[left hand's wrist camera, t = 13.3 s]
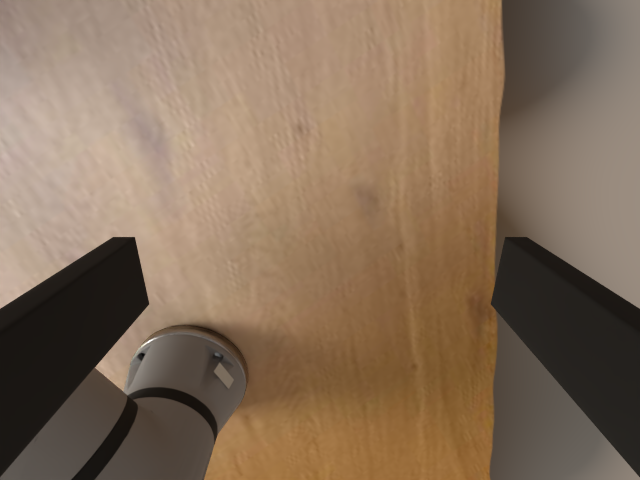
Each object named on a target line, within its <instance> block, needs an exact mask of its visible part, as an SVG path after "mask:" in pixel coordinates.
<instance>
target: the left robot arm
mask: <svg viewBox="0 0 640 480" xmlns="http://www.w3.org/2000/svg"><path fill="white" fill-rule="evenodd" d="M148 305H149V301H148V296H147V292H146V287H145V282H144V278H143V273H142V268H141V264H140V259H139V254H138V250H137V245H136V241H135V237H113V238H111V239H110V240H108V241H106V242H105V243H103V244H102V245H100V246H99V247H97V248H95V249H94V250H92V251H91V252H89V253H87V254H86V255H84V256H83V257H81V258H80V259H78V260H76V261H75V262H73V263H72V264H70V265H69V266H67V267H65V268H64V269H62V270H61V271H59V272H58V273H56V274H54V275H53V276H51V277H50V278H48V279H47V280H45V281H43V282H42V283H40V284H39V285H37V286H36V287H34V288H32V289H31V290H29V291H28V292H26V293H25V294H23V295H21V296H20V297H18V298H17V299H15V300H14V301H12V302H10V303H9V304H7V305H6V306H4V307H3V308H1V309H0V480H204V477H205V474H206V471H207V467H208V464H209V461H210V457H211V454H212V451H213V447H214V444H215V441H216V438H217V435H218V433H219V432H220V430H221V429H222V428H223V426H224V425H225V424H226V422H227V421H228V419H229V418H230V417H231V415H232V414H233V412H234V411H235V410H236V408H237V407H238V406H239V404H240V403H241V401H242V399H243V397H244V394H245V390H246V386H247V382H248V369H247V365H246V362H245V360H244V358H243V356H242V354H241V353H240V351H239V350H238V349H237V348H236V347H235V346H234V345H233V344H232V343H231V342H230V341H229V340H227V339H226V338H224V337H223V336H221V335H219V334H217V333H215V332H213V331H210V330H208V329H204V328H201V327H195V326H174V327H169V328H165V329H162V330H160V331H158V332H156V333H154V334H152V335H151V336H150V337H148V338H147V339H146V340H145V341H144V343H143V344H142V345H141V346H140V348H139V349H138V350H137V352H136V353H135V355H134V356H133V358H132V361H131V364H130V368H129V371H128V375H127V379H126V383H125V387H124V391H122V390H121V389H119V388H118V387H117V386H116V385H114V384H113V383H112V382H111V381H110V380H109V379H107V378H106V377H105V376H104V375H103V374H102V373H100V372H99V371H98V370H97V369H96V368H95V367H96V365H97V364H98V363H99V362H100V361H101V360H102V358H103V357H104V356H105V355H106V354H107V353H108V351H109V350H110V349H111V348H112V347H113V346H114V344H115V343H116V342H117V341H118V340H119V339H120V337H121V336H122V335H123V334H124V333H125V332H126V331H127V329H128V328H129V327H130V326H131V325H132V324H133V322H134V321H135V320H136V319H137V318H138V317H139V315H140V314H141V313H142V312H143V311H144V310H145V308H146V307H147V306H148ZM491 305H492V306H493V307H494V308H495V310H496V311H497V312H498V313H499V314H500V315H501V317H502V318H503V319H504V320H505V321H506V322H507V324H508V325H509V326H510V327H511V328H512V329H513V331H514V332H515V333H516V334H517V335H518V336H519V337H520V339H521V340H522V341H523V342H524V343H525V344H526V346H527V347H528V348H529V349H530V350H531V351H532V353H533V354H534V355H535V356H536V357H537V358H538V360H539V361H540V362H541V363H542V364H543V365H544V367H545V368H546V369H547V370H548V371H549V372H550V373H551V375H552V376H553V377H554V378H555V379H556V380H557V382H558V383H559V384H560V385H561V386H562V387H563V389H564V390H565V391H566V392H567V393H568V394H569V396H570V397H571V398H572V399H573V400H574V401H575V403H576V404H577V405H578V406H579V407H580V408H581V409H582V411H583V412H584V413H585V414H586V415H587V416H588V418H589V419H590V420H591V421H592V422H593V423H594V425H595V426H596V427H597V428H598V429H599V430H600V432H601V433H602V434H603V435H604V436H605V437H606V438H607V440H608V441H609V442H610V443H611V444H612V445H613V447H614V448H615V449H616V450H617V451H618V452H619V454H620V455H621V456H622V457H623V458H624V459H625V461H626V462H627V463H628V464H629V465H630V466H631V468H632V469H633V470H634V471H635V472H636V473H637V475H638V476H639V477H640V309H639V308H637V307H636V306H634V305H633V304H631V303H630V302H628V301H626V300H625V299H623V298H622V297H620V296H619V295H617V294H615V293H614V292H612V291H611V290H609V289H608V288H606V287H604V286H603V285H601V284H600V283H598V282H597V281H595V280H593V279H592V278H590V277H589V276H587V275H585V274H584V273H582V272H581V271H579V270H578V269H576V268H574V267H573V266H571V265H570V264H568V263H567V262H565V261H563V260H562V259H560V258H559V257H557V256H556V255H554V254H552V253H551V252H549V251H548V250H546V249H545V248H543V247H541V246H540V245H538V244H537V243H535V242H534V241H532V240H530V239H529V238H527V237H505V241H504V245H503V250H502V255H501V259H500V264H499V269H498V273H497V278H496V282H495V287H494V292H493V296H492V301H491Z"/></svg>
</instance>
